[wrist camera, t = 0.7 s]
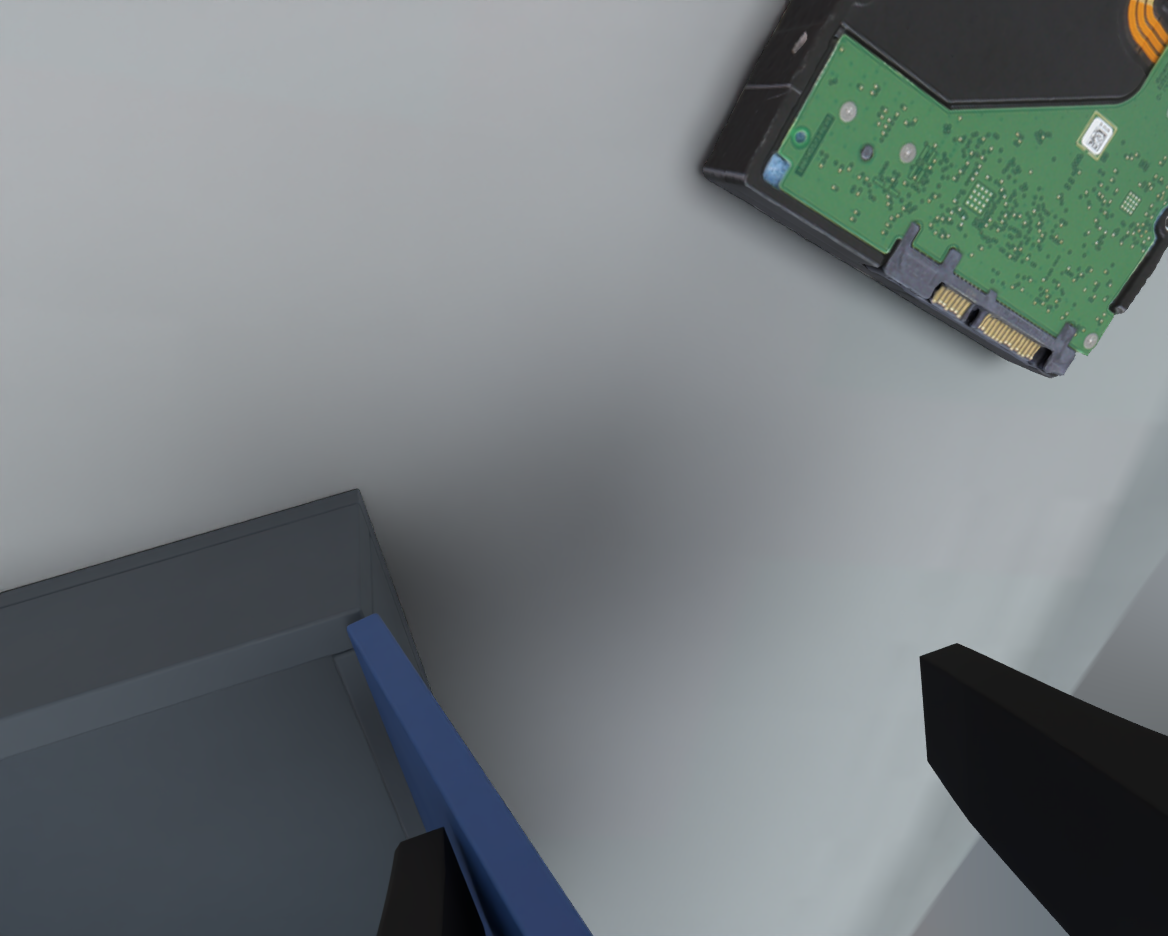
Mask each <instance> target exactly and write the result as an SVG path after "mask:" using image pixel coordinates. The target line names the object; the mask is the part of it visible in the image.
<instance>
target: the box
mask: <svg viewBox="0 0 1168 936" xmlns="http://www.w3.org/2000/svg"><path fill="white" fill-rule="evenodd" d="M375 613H377V614H378V615H379V616H380V617H381V618H382V620H383V621H384V623H385V624H386V626H387V627H388V629H389V630H390V632H391V633H392V635H393V636H394V638H395V639H396V641H397V642H398V644H399V645H400V647H401V648H402V650H403V651H404V653H405V654H406V656H407V657H408V659H409V660H410V662H411V663H412V665H413V666H414V668H415V669H416V671H417V672H418V674H419V675H420V677H421V678H422V680H423V681H424V683H425V684H426V686H427V687H428V689H429V690H430V692H431V693H432V691H431V688H430V686H429V683H428V680H427V677H426V674H425V672H424V669H423V666H422V663H421V660H420V658H419V655H418V652H417V649H416V647H415V644H414V641H413V638H412V635H411V633H410V630H409V627H408V624H407V622H406V619H405V616H404V613H403V610H402V608H401V605H400V602H399V599H398V596H397V594H396V591H395V588H394V585H393V583H392V580H391V577H390V574H389V571H388V569H387V566H386V563H385V560H384V557H383V555H382V552H381V549H380V546H379V544H378V541H377V538H376V535H375V532H374V530H373V527H372V524H371V521H370V518H369V516H368V513H367V510H366V507H365V505H364V502H363V499H362V496H361V493H360V491H359V490H358V489H356V490H353V491H349V492H346V493H342V494H339V495H335V496H332V497H329V498H325V499H322V500H318V501H315V502H312V503H308V504H305V505H301V506H298V507H295V508H291V509H288V510H284V511H281V512H277V513H274V514H271V515H267V516H264V517H260V518H257V519H254V520H250V521H247V522H243V523H240V524H236V525H233V526H230V527H226V528H223V529H219V530H216V531H213V532H209V533H206V534H202V535H199V536H195V537H192V538H189V539H185V540H182V541H178V542H175V543H172V544H168V545H165V546H161V547H158V548H154V549H151V550H148V551H144V552H141V553H137V554H134V555H131V556H127V557H124V558H120V559H117V560H113V561H110V562H107V563H103V564H100V565H96V566H93V567H90V568H86V569H83V570H79V571H76V572H72V573H69V574H66V575H62V576H59V577H55V578H52V579H49V580H45V581H42V582H38V583H35V584H32V585H28V586H25V587H21V588H18V589H14V590H11V591H8V592H4V593H1V594H0V936H377V932H378V928H379V924H380V920H381V916H382V912H383V908H384V903H385V899H386V895H387V890H388V885H389V880H390V875H391V870H392V865H393V859H394V853H395V850H396V848H397V847H398V845H399V843H400V842H402V841H404V840H407V839H410V838H413V837H416V836H418V835H421V834H424V833H427V832H426V830H425V827H424V825H423V822H422V820H421V817H420V815H419V812H418V810H417V807H416V805H415V802H414V799H413V797H412V794H411V792H410V789H409V787H408V784H407V782H406V779H405V777H404V774H403V772H402V769H401V767H400V764H399V762H398V759H397V757H396V754H395V751H394V749H393V746H392V744H391V741H390V739H389V736H388V734H387V731H386V729H385V726H384V724H383V721H382V719H381V716H380V714H379V711H378V709H377V706H376V704H375V701H374V698H373V696H372V693H371V691H370V688H369V686H368V683H367V681H366V678H365V676H364V673H363V671H362V668H361V666H360V663H359V661H358V658H357V656H356V653H355V651H354V648H353V645H352V643H351V640H350V638H349V635H348V633H347V626H348V625H350V624H352V623H354V622H357V621H359V620H361V619H363V618H365V617H367V616H370V615H372V614H375ZM432 695H433V694H432Z"/></svg>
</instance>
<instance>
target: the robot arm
mask: <svg viewBox="0 0 1168 936" xmlns="http://www.w3.org/2000/svg"><path fill="white" fill-rule="evenodd" d="M920 668H921V681H922V695H923V708H924V721H925V735H926V748H927V761H928V762H929V764H930V765H931V767H932V768H933V770H934V771H935V773H936V774H937V776H938V777H939V779H940V780H941V782H942V783H943V785H944V786H945V788H946V789H947V791H948V792H949V794H950V795H951V797H952V798H953V799H954V801H955V802H956V804H957V805H958V806H959V808H960V809H961V811H962V812H963V813H964V815H965V816H966V818H967V819H968V820H969V822H970V823H971V824H972V825H973V826H974V828H975V829H976V830H977V831H978V832H979V833H980V835H981V836H982V837H983V838H984V839H985V840H986V841H987V843H988V844H989V845H990V846H991V847H992V848H993V850H994V851H995V852H996V853H997V854H998V855H999V856H1000V857H1001V859H1002V860H1003V861H1004V862H1005V863H1006V864H1007V865H1008V866H1009V868H1010V869H1011V870H1012V871H1013V872H1014V873H1015V875H1017V877H1018V878H1019V879H1020V880H1021V881H1022V882H1023V884H1024V885H1025V886H1026V887H1027V888H1028V889H1029V890H1030V891H1031V892H1032V894H1033V895H1034V896H1035V897H1036V898H1037V899H1038V900H1039V902H1040V903H1041V904H1042V905H1043V906H1044V907H1045V908H1046V909H1047V910H1048V912H1049V913H1050V914H1051V915H1052V916H1053V917H1054V918H1055V919H1056V921H1057V922H1058V923H1059V924H1060V925H1061V926H1062V927H1063V929H1064V930H1065V931H1066V932H1067V933H1068V934H1069V935H1070V936H1168V736H1166V735H1163V734H1161V733H1158V732H1155V731H1153V730H1150V729H1148V728H1145V727H1143V726H1140V725H1138V724H1136V723H1133V722H1131V721H1128V720H1126V719H1124V718H1121V717H1119V716H1116V715H1114V714H1112V713H1109V712H1107V711H1104V710H1102V709H1100V708H1098V707H1095V706H1093V705H1091V704H1089V703H1086V702H1084V701H1082V700H1080V699H1077V698H1075V697H1073V696H1071V695H1069V694H1066V693H1064V692H1062V691H1060V690H1058V689H1055V688H1053V687H1051V686H1049V685H1047V684H1045V683H1042V682H1040V681H1038V680H1036V679H1034V678H1032V677H1030V676H1027V675H1025V674H1023V673H1021V672H1019V671H1017V670H1015V669H1013V668H1010V667H1008V666H1006V665H1004V664H1002V663H1000V662H998V661H995V660H993V659H991V658H989V657H987V656H985V655H983V654H980V653H978V652H976V651H974V650H972V649H969V648H967V647H965V646H963V645H960V644H958V643H956V644H953V645H950V646H947V647H945V648H942V649H939V650H936V651H933V652H931V653H928V654H925V655H922V656H920ZM377 936H486V935H485V930H484V926H483V923H482V921H481V918H480V916H479V913H478V911H477V908H476V906H475V903H474V901H473V898H472V896H471V893H470V891H469V888H468V886H467V883H466V881H465V878H464V876H463V873H462V871H461V868H460V866H459V863H458V861H457V858H456V856H455V853H454V851H453V848H452V846H451V843H450V841H449V838H448V836H447V833H446V831H445V828H444V827H441V828H438V829H435V830H432V831H430V832H427V833H424V834H421V835H418V836H416V837H413V838H410V839H407V840H404V841H402V842H400V843H399V845H398V847H397V848H396V850H395V853H394V859H393V865H392V870H391V875H390V880H389V885H388V890H387V895H386V899H385V903H384V908H383V912H382V916H381V920H380V924H379V928H378V932H377Z"/></svg>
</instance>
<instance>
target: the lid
mask: <svg viewBox="0 0 1168 936" xmlns="http://www.w3.org/2000/svg"><path fill="white" fill-rule="evenodd" d="M347 633H348V635H349V638H350V640H351V643H352V645H353V648H354V651H355V653H356V656H357V658H358V661H359V663H360V666H361V668H362V671H363V673H364V676H365V678H366V681H367V683H368V686H369V688H370V691H371V693H372V696H373V698H374V701H375V704H376V706H377V709H378V711H379V714H380V716H381V719H382V721H383V724H384V726H385V729H386V731H387V734H388V736H389V739H390V741H391V744H392V746H393V749H394V751H395V754H396V757H397V759H398V762H399V764H400V767H401V769H402V772H403V774H404V777H405V779H406V782H407V784H408V787H409V789H410V792H411V794H412V797H413V799H414V802H415V805H416V807H417V810H418V812H419V815H420V817H421V820H422V822H423V825H424V827H425V830H426V832H430V831H432V830H435V829H438V828H441V827H444V828H445V831H446V833H447V836H448V838H449V841H450V843H451V846H452V848H453V851H454V853H455V856H456V858H457V861H458V863H459V866H460V868H461V871H462V873H463V876H464V878H465V881H466V883H467V886H468V888H469V891H470V893H471V896H472V898H473V901H474V903H475V906H476V908H477V911H478V913H479V916H480V918H481V921H482V923H483V926H484V930H485V935H486V936H593V935H592V933H591V932H590V930H589V929H588V927H587V926H586V924H585V923H584V921H583V920H582V918H581V917H580V915H579V914H578V912H577V911H576V909H575V908H574V906H573V905H572V903H571V902H570V900H569V899H568V897H567V896H566V894H565V893H564V891H563V890H562V888H561V887H560V885H559V884H558V882H557V881H556V879H555V878H554V876H553V875H552V873H551V872H550V870H549V869H548V867H547V866H546V864H545V863H544V861H543V860H542V858H541V857H540V855H539V854H538V852H537V851H536V849H535V848H534V846H533V845H532V843H531V842H530V840H529V839H528V837H527V836H526V834H525V833H524V831H523V830H522V828H521V827H520V825H519V824H518V822H517V821H516V819H515V818H514V816H513V815H512V813H511V812H510V810H509V809H508V807H507V806H506V804H505V803H504V801H503V800H502V798H501V797H500V795H499V794H498V792H497V791H496V789H495V788H494V786H493V785H492V783H491V782H490V780H489V779H488V777H487V776H486V774H485V773H484V771H483V770H482V768H481V767H480V765H479V764H478V762H477V761H476V759H475V758H474V756H473V755H472V753H471V752H470V750H469V749H468V747H467V746H466V744H465V743H464V741H463V740H462V738H461V737H460V735H459V734H458V732H457V731H456V729H455V728H454V726H453V725H452V723H451V722H450V720H449V719H448V717H447V716H446V714H445V713H444V711H443V710H442V708H441V707H440V705H439V704H438V702H437V701H436V699H435V698H434V696H433V695H432V693H431V692H430V690H429V689H428V687H427V686H426V684H425V683H424V681H423V680H422V678H421V677H420V675H419V674H418V672H417V671H416V669H415V668H414V666H413V665H412V663H411V662H410V660H409V659H408V657H407V656H406V654H405V653H404V651H403V650H402V648H401V647H400V645H399V644H398V642H397V641H396V639H395V638H394V636H393V635H392V633H391V632H390V630H389V629H388V627H387V626H386V624H385V623H384V621H383V620H382V618H381V617H380V616H379V615H378V614H377V613H375V614H372V615H370V616H367V617H365V618H363V619H361V620H359V621H357V622H354V623H352V624H350V625H348V626H347Z"/></svg>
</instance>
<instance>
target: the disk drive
mask: <svg viewBox="0 0 1168 936" xmlns="http://www.w3.org/2000/svg"><path fill="white" fill-rule="evenodd" d="M703 174H704V175H705V177H706V178H707V179H708V180H710V181H711V182H713V183H715V184H716V185H718V186H721V187H723V188H724V189H726V190H727V191H729V192H730V193H732V194H734V195H736V196H737V197H739V198H741V199H743V200H745V201H746V202H748V203H750V204H751V205H753V206H754V207H756V208H757V209H759V210H760V211H762V212H764V213H765V214H767V215H769V216H770V217H772V218H773V219H775V220H777V221H779V222H780V223H782V224H783V225H785V226H786V227H788V228H789V229H791V230H793V231H795V232H797V233H798V234H800V235H801V236H803V237H804V238H806V239H808V240H809V241H811V242H813V243H814V244H816V245H818V246H819V247H821V248H822V249H824V250H826V251H827V252H829V253H831V254H832V255H834V256H835V257H837V258H838V259H840V260H842V261H844V262H846V263H847V264H849V265H851V266H852V267H854V268H856V269H857V270H859V271H861V272H863V273H864V274H866V275H868V276H869V277H871V278H872V279H874V280H876V281H878V282H879V283H880V284H882V285H884V286H886V287H887V288H888V289H890V290H892V291H893V292H895V293H897V294H899V295H900V296H902V297H903V298H905V299H907V300H908V301H910V302H912V303H913V304H915V305H917V306H918V307H920V308H922V309H923V310H925V311H927V312H929V313H930V314H932V315H933V316H935V317H936V318H938V319H940V320H942V321H943V322H945V323H947V324H948V325H950V326H952V327H953V328H955V329H957V330H958V331H960V332H961V333H963V334H965V335H967V336H969V337H970V338H972V339H973V340H975V341H977V342H978V343H980V344H981V345H983V346H985V347H986V348H987V349H989V350H991V351H993V352H994V353H996V354H997V355H999V356H1000V357H1002V358H1004V359H1005V360H1008V361H1010V362H1012V363H1014V364H1017V365H1019V366H1021V367H1024V368H1026V369H1028V370H1030V371H1033V372H1035V373H1038V374H1041V375H1043V376H1045V377H1048V378H1052V377H1056V376H1058V375H1059V376H1061V375H1064V373H1065V372H1066V370H1067V368H1068V367H1069V365H1070V364H1071V362H1072V361H1073V359H1074V357H1075V353H1076V352H1080V353H1082V354H1084V355H1086V356H1088V354H1089V353H1090V352H1091V351H1092V349H1093V348H1094V347H1095V346H1096V345H1097V343H1098V341H1099V340H1100V338H1101V337H1102V335H1103V333H1104V332H1105V330H1106V328H1107V327H1108V325H1109V324H1110V322H1111V320H1112V319H1113V316H1114V315H1116V314H1121V313H1123V312H1125V311H1126V310H1127V309H1128V307H1129V305H1130V304H1131V303H1132V302H1133V300H1134V298H1135V296H1136V295H1137V294H1138V293H1139V291H1140V290H1141V288H1142V287H1143V286H1144V285H1145V283H1146V279H1147V278H1149V277H1150V276H1151V274H1152V273H1153V271H1154V270H1155V268H1156V266H1157V264H1158V263H1159V261H1160V259H1161V257H1162V255H1163V253H1164V251H1165V250H1166V248H1167V247H1168V0H791V1H790V3H789V5H788V7H787V9H786V11H785V12H784V14H783V16H782V18H781V20H780V22H779V24H778V26H777V27H776V29H775V31H774V33H773V35H772V36H771V39H770V40H769V41H768V43H767V46H766V47H765V49H764V50H763V52H762V54H761V56H760V57H759V59H758V62H757V64H756V66H755V68H754V70H753V71H752V74H751V76H750V78H749V80H748V82H747V83H746V85H745V87H744V89H743V92H742V93H741V95H740V97H739V99H738V101H737V104H736V106H735V108H734V110H733V112H732V114H731V116H730V117H729V119H728V122H727V125H726V126H725V128H724V129H723V130H722V132H721V135H720V137H719V138H718V141H717V143H716V145H715V148H714V151H713V152H712V154H711V156H710V157H709V159H708V160H707V162H706V163H705V165H704V167H703Z"/></svg>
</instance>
